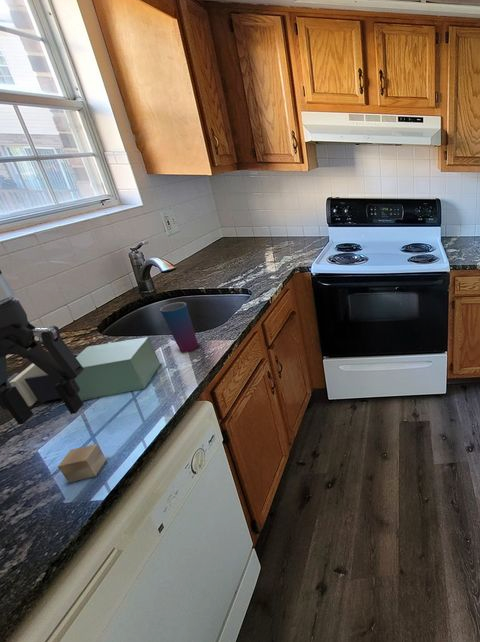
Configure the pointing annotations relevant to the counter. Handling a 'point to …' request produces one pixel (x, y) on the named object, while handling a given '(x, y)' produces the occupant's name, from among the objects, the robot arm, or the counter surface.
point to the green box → (116, 368)
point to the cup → (180, 325)
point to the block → (82, 463)
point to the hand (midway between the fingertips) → (52, 414)
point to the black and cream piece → (34, 385)
